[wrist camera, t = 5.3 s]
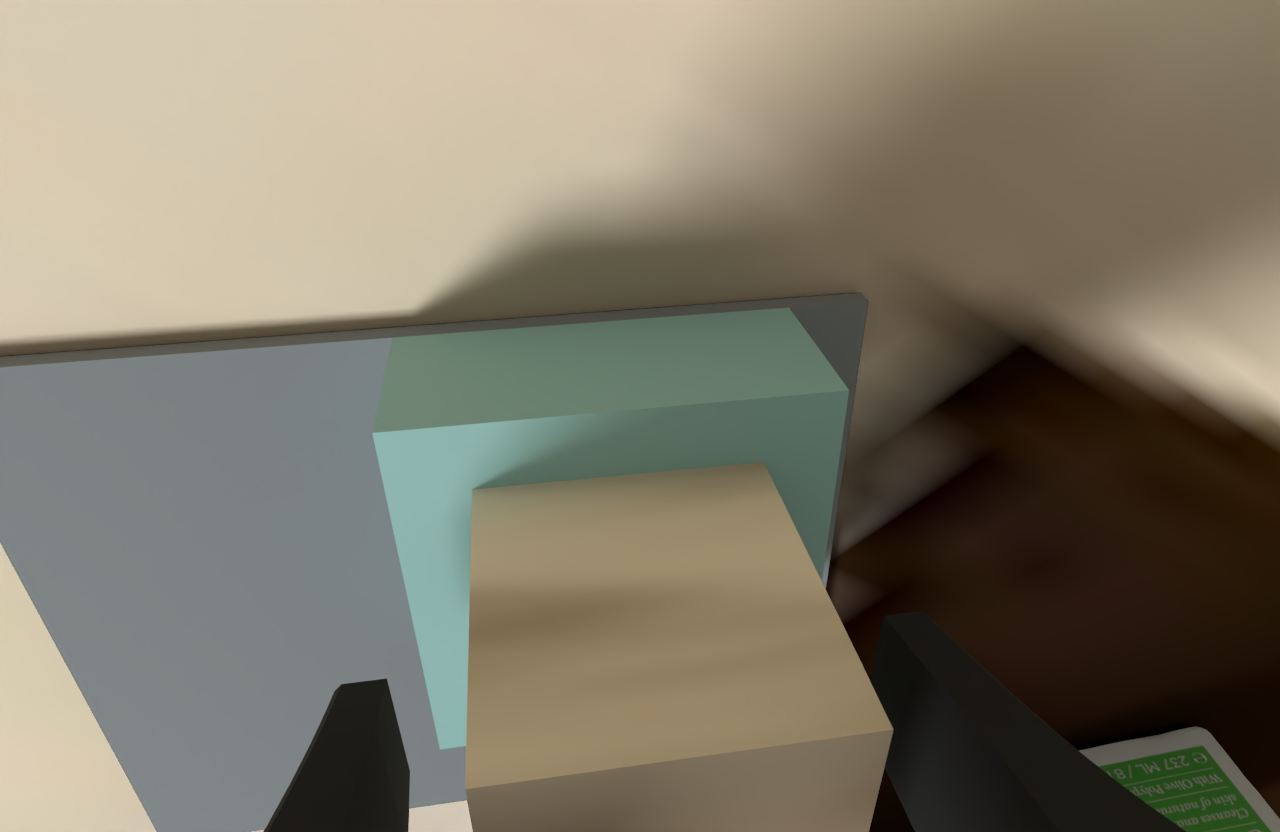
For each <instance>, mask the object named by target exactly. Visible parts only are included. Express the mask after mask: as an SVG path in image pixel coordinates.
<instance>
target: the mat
mask: <svg viewBox="0 0 1280 832" xmlns="http://www.w3.org/2000/svg"><path fill="white" fill-rule="evenodd" d="M867 306H868V301H867V300H866V299H865V298H864V296H863V295H862V294H861V293H850V294H837V295H823V296H810V297H797V298H783V299H770V300H756V301H743V302H729V303H716V304H702V305H689V306H676V307H662V308H649V309H635V310H622V311H608V312H595V313H581V314H568V315H555V316H541V317H528V318H514V319H501V320H487V321H474V322H460V323H447V324H434V325H420V326H407V327H393V328H380V329H366V330H353V331H339V332H326V333H313V334H299V335H286V336H272V337H259V338H245V339H232V340H218V341H205V342H192V343H178V344H165V345H151V346H138V347H124V348H111V349H97V350H84V351H71V352H57V353H44V354H30V355H17V356H3V357H0V543H1V545H2V547H3V548H4V550H5V552H6V554H7V556H8V558H9V559H10V561H11V563H12V565H13V567H14V569H15V571H16V572H17V574H18V576H19V578H20V580H21V582H22V583H23V585H24V587H25V589H26V591H27V593H28V595H29V596H30V598H31V600H32V602H33V604H34V606H35V608H36V609H37V611H38V613H39V615H40V617H41V619H42V620H43V622H44V624H45V626H46V628H47V630H48V632H49V633H50V635H51V637H52V639H53V641H54V643H55V644H56V646H57V648H58V650H59V652H60V654H61V656H62V657H63V659H64V661H65V663H66V665H67V667H68V668H69V670H70V672H71V674H72V676H73V678H74V680H75V681H76V683H77V685H78V687H79V689H80V691H81V692H82V694H83V696H84V698H85V700H86V702H87V704H88V705H89V707H90V709H91V711H92V713H93V715H94V717H95V718H96V720H97V722H98V724H99V726H100V728H101V729H102V731H103V733H104V735H105V737H106V739H107V741H108V742H109V744H110V746H111V748H112V750H113V752H114V753H115V755H116V757H117V759H118V761H119V763H120V765H121V766H122V768H123V770H124V772H125V774H126V776H127V777H128V779H129V781H130V783H131V785H132V787H133V789H134V790H135V792H136V794H137V796H138V798H139V800H140V802H141V803H142V805H143V807H144V809H145V811H146V813H147V814H148V816H149V818H150V820H151V822H152V824H153V826H154V827H155V829H156V831H157V832H250V831H257V830H264V829H265V828H266V827H267V825H268V823H269V821H270V819H271V818H272V816H273V814H274V812H275V810H276V808H277V807H278V805H279V803H280V801H281V799H282V798H283V796H284V794H285V792H286V790H287V788H288V787H289V785H290V783H291V781H292V779H293V777H294V775H295V773H296V771H297V769H298V767H299V765H300V763H301V762H302V760H303V758H304V756H305V754H306V752H307V750H308V748H309V746H310V744H311V742H312V740H313V737H314V735H315V733H316V731H317V729H318V727H319V725H320V723H321V720H322V718H323V716H324V714H325V712H326V710H327V707H328V705H329V703H330V700H331V698H332V696H333V693H334V691H335V690H336V689H337V688H338V687H339V686H340V685H341V684H347V683H355V682H363V681H371V680H379V679H387V681H388V685H389V689H390V693H391V697H392V701H393V705H394V709H395V713H396V717H397V721H398V725H399V729H400V733H401V737H402V741H403V745H404V749H405V753H406V757H407V761H408V765H409V769H410V788H409V808H416V807H423V806H430V805H437V804H443V803H450V802H457V801H464V800H467V796H466V791H465V776H466V746H462V747H455V748H448V749H440V747H439V742H438V738H437V733H436V728H435V724H434V719H433V714H432V710H431V705H430V700H429V696H428V691H427V686H426V682H425V677H424V672H423V668H422V663H421V658H420V654H419V649H418V644H417V640H416V635H415V630H414V626H413V621H412V616H411V612H410V607H409V602H408V598H407V593H406V588H405V584H404V579H403V574H402V570H401V565H400V560H399V556H398V551H397V546H396V542H395V537H394V532H393V527H392V523H391V518H390V513H389V509H388V504H387V499H386V495H385V490H384V485H383V481H382V476H381V471H380V467H379V462H378V457H377V453H376V448H375V443H374V439H373V434H372V432H373V427H374V422H375V418H376V413H377V408H378V403H379V399H380V394H381V389H382V384H383V379H384V375H385V370H386V365H387V360H388V356H389V351H390V346H391V341H392V338H394V337H407V336H421V335H434V334H447V333H460V332H473V331H487V330H500V329H513V328H526V327H539V326H552V325H566V324H579V323H592V322H605V321H618V320H632V319H645V318H658V317H671V316H684V315H698V314H711V313H724V312H737V311H750V310H763V309H777V308H790V310H791V311H792V312H793V314H794V315H795V316H796V318H797V319H798V321H799V322H800V323H801V325H802V326H803V327H804V329H805V330H806V332H807V333H808V334H809V336H810V337H811V338H812V340H813V341H814V343H815V344H816V345H817V347H818V348H819V349H820V351H821V352H822V354H823V355H824V356H825V358H826V359H827V360H828V362H829V363H830V365H831V366H832V367H833V369H834V370H835V371H836V373H837V374H838V376H839V377H840V378H841V380H842V381H843V383H844V384H845V385H846V387H847V388H848V389H849V395H848V402H847V409H846V416H845V423H844V430H843V437H842V444H841V451H840V458H839V465H838V472H837V479H836V486H835V493H834V500H833V507H832V514H831V521H830V528H829V535H828V542H827V549H826V556H825V563H824V570H823V577H822V583H823V585H824V587H825V589H826V584H827V578H828V571H829V564H830V557H831V551H832V544H833V537H834V530H835V523H836V517H837V510H838V503H839V496H840V489H841V483H842V476H843V469H844V462H845V456H846V449H847V442H848V435H849V428H850V422H851V415H852V408H853V401H854V395H855V388H856V381H857V374H858V367H859V361H860V354H861V347H862V340H863V334H864V327H865V320H866V313H867Z"/></svg>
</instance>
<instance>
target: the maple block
mask: <svg viewBox="0 0 1280 832" xmlns="http://www.w3.org/2000/svg"><path fill="white" fill-rule="evenodd" d="M893 730H894V729H893V727H892V725H891V723H890V721H889V719H888V717H887V715H886V713H885V711H884V709H883V707H882V705H881V703H880V701H879V698H878V696H877V694H876V692H875V690H874V688H873V686H872V684H871V682H870V680H869V678H868V676H867V674H866V672H865V670H864V668H863V666H862V663H861V661H860V659H859V657H858V655H857V653H856V651H855V649H854V647H853V645H852V643H851V641H850V639H849V637H848V635H847V633H846V631H845V628H844V626H843V624H842V622H841V620H840V618H839V616H838V614H837V612H836V610H835V608H834V606H833V604H832V602H831V600H830V598H829V595H828V593H827V591H826V589H825V587H824V585H823V583H822V581H821V579H820V577H819V575H818V573H817V571H816V569H815V567H814V565H813V563H812V560H811V558H810V556H809V554H808V552H807V550H806V548H805V546H804V544H803V542H802V540H801V538H800V536H799V534H798V532H797V530H796V528H795V525H794V523H793V521H792V519H791V517H790V515H789V513H788V511H787V509H786V507H785V505H784V503H783V501H782V499H781V497H780V495H779V493H778V490H777V488H776V486H775V484H774V482H773V480H772V478H771V476H770V474H769V472H768V470H767V468H766V466H765V464H764V462H758V463H748V464H737V465H726V466H716V467H705V468H695V469H684V470H673V471H663V472H652V473H642V474H631V475H620V476H610V477H599V478H588V479H578V480H567V481H557V482H546V483H535V484H525V485H514V486H503V487H493V488H482V489H472V517H471V560H470V603H469V646H468V690H467V733H466V776H465V791H466V796H467V802H468V807H469V812H470V818H471V823H472V829H473V832H869V829H870V825H871V821H872V817H873V812H874V808H875V804H876V800H877V796H878V792H879V788H880V784H881V780H882V775H883V771H884V767H885V763H886V759H887V755H888V751H889V747H890V742H891V738H892V734H893Z"/></svg>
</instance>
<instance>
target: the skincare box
mask: <svg viewBox="0 0 1280 832" xmlns="http://www.w3.org/2000/svg"><path fill="white" fill-rule="evenodd" d="M1078 751H1079V752H1081V753H1082V754H1083V755H1084V756H1086V757H1087V758H1088V759H1089V760H1091V761H1092V762H1093V763H1094V764H1096V765H1097V766H1098V767H1100V768H1101V769H1102V770H1103V771H1105V772H1106V773H1107V774H1108V775H1110V776H1111V777H1112V778H1113V779H1115V780H1116V781H1117V782H1119V783H1120V784H1121V785H1122V786H1124V787H1125V788H1126V789H1128V790H1129V791H1130V792H1132V793H1133V794H1134V795H1136V796H1137V797H1138V798H1140V799H1141V800H1143V801H1144V802H1145V803H1147V804H1148V805H1149V806H1151V807H1152V808H1154V809H1155V810H1157V811H1158V812H1159V813H1161V814H1162V815H1164V816H1165V817H1166V818H1168V819H1169V820H1171V821H1172V822H1174V823H1175V824H1176V825H1178V826H1179V827H1181V828H1182V829H1183V830H1185V831H1186V832H1280V819H1279V818H1278V816H1277V815H1276V814H1275V813H1274V811H1273V810H1272V809H1271V808H1270V806H1269V805H1268V804H1267V803H1266V801H1265V800H1264V799H1263V798H1262V796H1261V795H1260V794H1259V793H1258V791H1257V790H1256V789H1255V788H1254V787H1253V786H1252V784H1251V783H1250V782H1249V781H1248V780H1247V779H1246V777H1245V776H1244V775H1243V774H1242V772H1241V771H1240V770H1239V768H1238V767H1237V766H1236V765H1235V763H1234V762H1233V761H1232V760H1231V758H1230V757H1229V756H1228V755H1227V753H1226V752H1225V751H1224V749H1223V748H1222V747H1221V746H1220V744H1219V743H1218V742H1217V741H1216V740H1215V738H1214V737H1213V736H1212V735H1211V734H1210V733H1209V732H1208V731H1207V730H1206V729H1203V728H1200V727H1189V728H1184V729H1180V730H1175V731H1171V732H1167V733H1164V734H1160V735H1155V736H1148V737H1143V738H1137V739H1131V740H1126V741H1120V742H1116V743H1111V744H1106V745H1101V746H1097V747H1093V748H1088V749H1083V750H1078Z"/></svg>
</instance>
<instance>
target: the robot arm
mask: <svg viewBox="0 0 1280 832" xmlns="http://www.w3.org/2000/svg"><path fill="white" fill-rule="evenodd" d="M870 682H871V684H872V686H873V688H874V690H875V692H876V694H877V696H878V698H879V701H880V703H881V705H882V707H883V709H884V711H885V713H886V715H887V717H888V719H889V721H890V723H891V725H892V727H893V729H894V730H893V734H892V738H891V742H890V747H889V751H888V755H887V759H886V763H885V768H886V770H887V773H888V776H889V778H890V780H891V782H892V784H893V786H894V789H895V791H896V793H897V795H898V797H899V799H900V801H901V803H902V805H903V808H904V810H905V812H906V814H907V816H908V818H909V820H910V822H911V824H912V826H913V829H914V831H915V832H1186V831H1185V830H1183V829H1182V828H1181V827H1179V826H1178V825H1176V824H1175V823H1174V822H1172V821H1171V820H1169V819H1168V818H1166V817H1165V816H1164V815H1162V814H1161V813H1159V812H1158V811H1157V810H1155V809H1154V808H1152V807H1151V806H1149V805H1148V804H1147V803H1145V802H1144V801H1143V800H1141V799H1140V798H1138V797H1137V796H1136V795H1134V794H1133V793H1132V792H1130V791H1129V790H1128V789H1126V788H1125V787H1124V786H1122V785H1121V784H1120V783H1119V782H1117V781H1116V780H1115V779H1113V778H1112V777H1111V776H1110V775H1108V774H1107V773H1106V772H1105V771H1103V770H1102V769H1101V768H1100V767H1098V766H1097V765H1096V764H1094V763H1093V762H1092V761H1091V760H1089V759H1088V758H1087V757H1086V756H1084V755H1083V754H1082V753H1081V752H1079V751H1078V750H1077V749H1076V748H1075V747H1073V746H1072V745H1071V744H1070V743H1069V742H1067V741H1066V740H1065V739H1064V738H1063V737H1061V736H1060V735H1059V734H1058V733H1057V732H1055V731H1054V730H1053V729H1052V728H1051V727H1050V726H1049V725H1047V724H1046V723H1045V722H1044V721H1043V720H1042V719H1041V718H1039V717H1038V716H1037V715H1036V714H1035V713H1034V712H1032V711H1031V710H1030V709H1029V708H1028V707H1027V706H1026V705H1024V704H1023V703H1022V702H1021V701H1020V700H1019V699H1017V698H1016V697H1015V696H1014V695H1013V694H1012V693H1011V692H1010V691H1009V690H1007V689H1006V688H1005V687H1004V686H1003V685H1002V684H1001V683H1000V682H999V681H997V680H996V679H995V678H994V677H993V676H992V675H991V674H990V673H989V672H988V671H987V670H985V669H984V668H983V667H982V666H981V665H980V664H979V663H978V662H977V661H976V660H975V659H974V658H972V657H971V656H970V655H969V654H968V653H967V652H966V651H965V650H964V649H963V648H962V647H961V646H960V645H958V644H957V643H956V642H955V641H954V640H953V639H952V638H951V637H950V636H949V635H948V634H947V633H946V632H944V631H943V630H942V629H941V628H940V627H939V626H938V625H937V624H936V623H935V622H934V621H932V620H931V619H930V618H929V617H928V616H927V615H926V614H925V613H924V612H923V611H921V612H913V613H905V614H897V615H889V616H883V621H882V626H881V631H880V636H879V641H878V646H877V651H876V656H875V661H874V666H873V671H872V676H871V681H870ZM409 788H410V769H409V765H408V761H407V757H406V753H405V749H404V745H403V741H402V737H401V733H400V729H399V725H398V721H397V717H396V713H395V709H394V705H393V701H392V697H391V693H390V689H389V685H388V681H387V679H379V680H371V681H363V682H355V683H347V684H341V685H340V686H339V687H338V688H337V689H336V690H335V691H334V693H333V696H332V698H331V700H330V703H329V705H328V707H327V710H326V712H325V714H324V716H323V718H322V720H321V723H320V725H319V727H318V729H317V731H316V733H315V735H314V737H313V740H312V742H311V744H310V746H309V748H308V750H307V752H306V754H305V756H304V758H303V760H302V762H301V763H300V765H299V767H298V769H297V771H296V773H295V775H294V777H293V779H292V781H291V783H290V785H289V787H288V788H287V790H286V792H285V794H284V796H283V798H282V799H281V801H280V803H279V805H278V807H277V808H276V810H275V812H274V814H273V816H272V818H271V819H270V821H269V823H268V825H267V827H266V828H265V830H264V832H408V822H409Z"/></svg>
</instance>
